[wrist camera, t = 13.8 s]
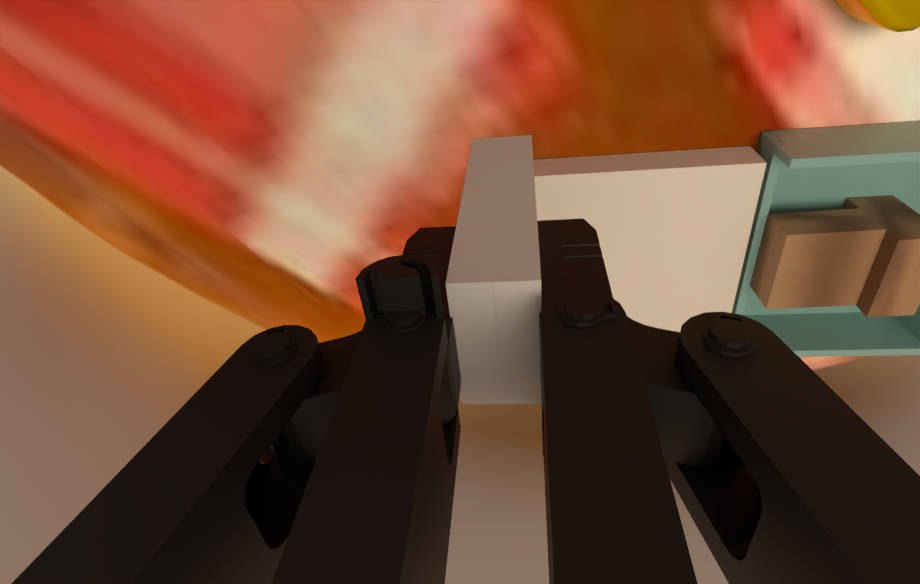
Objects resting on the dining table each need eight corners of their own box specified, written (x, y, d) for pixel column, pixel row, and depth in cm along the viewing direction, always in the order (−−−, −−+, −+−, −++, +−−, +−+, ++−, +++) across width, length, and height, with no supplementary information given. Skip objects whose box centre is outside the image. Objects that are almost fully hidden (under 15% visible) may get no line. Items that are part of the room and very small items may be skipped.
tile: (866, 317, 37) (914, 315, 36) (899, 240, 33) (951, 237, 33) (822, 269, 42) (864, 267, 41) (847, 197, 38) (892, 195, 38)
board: (511, 314, 47) (511, 336, 45) (503, 161, 39) (502, 178, 37) (715, 308, 45) (727, 331, 43) (750, 146, 37) (766, 162, 35)
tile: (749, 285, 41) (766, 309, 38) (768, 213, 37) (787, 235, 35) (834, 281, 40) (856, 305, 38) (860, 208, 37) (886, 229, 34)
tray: (720, 317, 46) (740, 357, 42) (761, 131, 37) (791, 159, 33) (894, 313, 44) (933, 354, 40) (983, 116, 35) (1044, 144, 31)
